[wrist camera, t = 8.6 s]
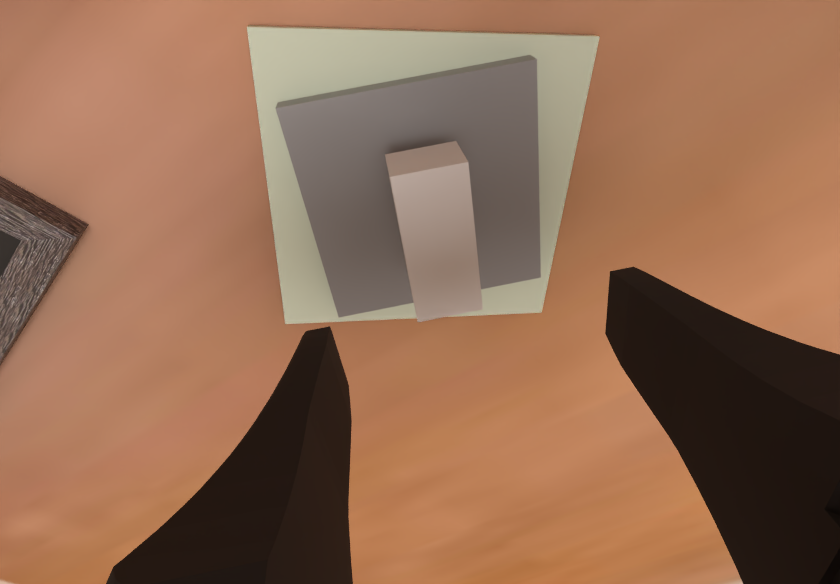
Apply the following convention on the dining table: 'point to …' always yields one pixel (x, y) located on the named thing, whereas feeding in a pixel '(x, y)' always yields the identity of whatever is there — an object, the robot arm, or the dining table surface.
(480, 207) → the grey cover
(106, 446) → the dining table surface
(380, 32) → the sage mat
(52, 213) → the picture frame
